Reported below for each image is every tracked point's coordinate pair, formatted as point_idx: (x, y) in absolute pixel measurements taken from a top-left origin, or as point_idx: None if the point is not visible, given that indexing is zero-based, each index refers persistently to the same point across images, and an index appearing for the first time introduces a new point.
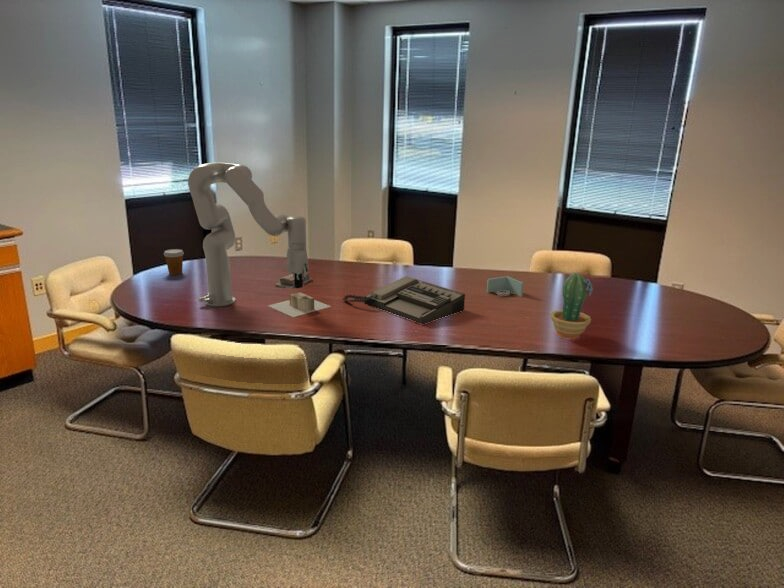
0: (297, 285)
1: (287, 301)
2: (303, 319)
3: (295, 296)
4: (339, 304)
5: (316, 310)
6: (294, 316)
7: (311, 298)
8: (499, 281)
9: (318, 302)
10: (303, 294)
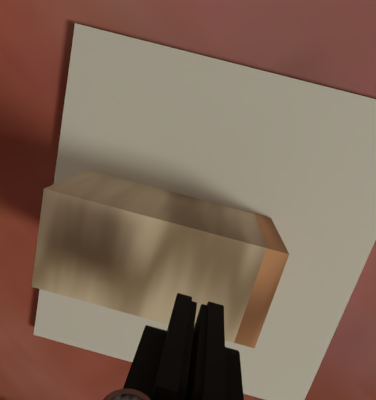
0: (169, 324)
1: (340, 272)
2: (11, 59)
3: (196, 235)
4: (42, 392)
5: None
6: (75, 41)
7: (40, 266)
8: None
9: None
10: None
